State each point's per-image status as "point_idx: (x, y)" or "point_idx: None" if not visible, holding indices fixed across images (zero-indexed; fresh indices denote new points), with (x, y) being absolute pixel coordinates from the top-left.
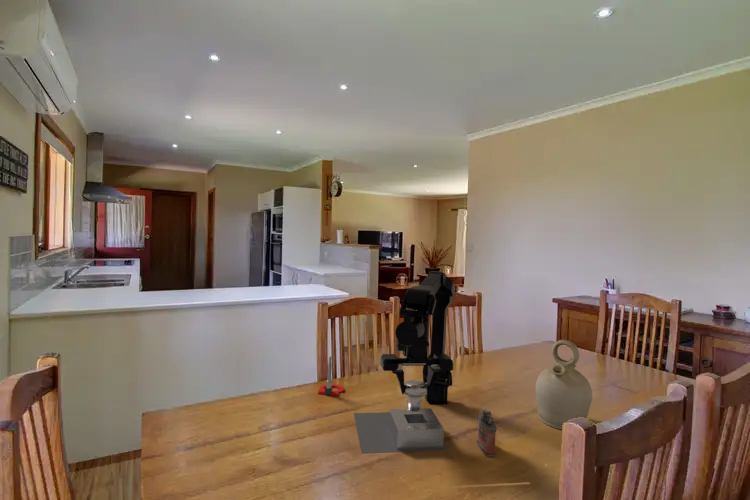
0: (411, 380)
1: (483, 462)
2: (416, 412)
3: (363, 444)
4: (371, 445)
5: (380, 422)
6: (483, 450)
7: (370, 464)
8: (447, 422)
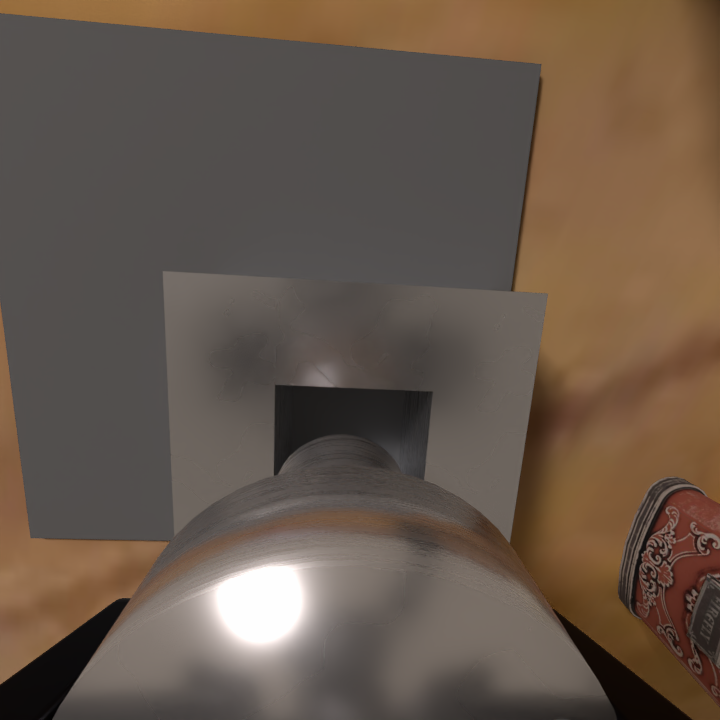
0: (316, 573)
1: (587, 626)
2: (392, 360)
3: (41, 460)
4: (86, 475)
5: (168, 205)
6: (636, 589)
7: (79, 603)
8: (620, 242)
